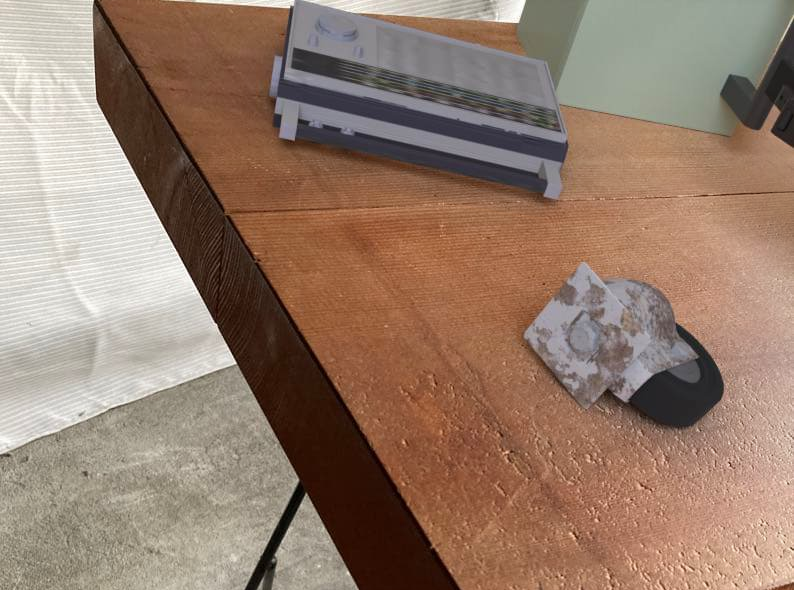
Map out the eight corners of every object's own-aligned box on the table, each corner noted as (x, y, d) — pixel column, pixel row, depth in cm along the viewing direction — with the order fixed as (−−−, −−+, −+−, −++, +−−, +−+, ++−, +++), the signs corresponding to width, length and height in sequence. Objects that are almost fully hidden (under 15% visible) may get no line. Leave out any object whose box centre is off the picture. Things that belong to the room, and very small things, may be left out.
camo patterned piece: (696, 433, 69) (625, 467, 62) (595, 316, 71) (517, 336, 65) (767, 369, 64) (699, 398, 57) (656, 246, 67) (578, 260, 60)
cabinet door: (757, 172, 96) (891, -74, 80) (569, 138, 90) (673, -132, 75) (728, 132, 101) (848, -106, 85) (549, 98, 96) (642, -162, 80)
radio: (550, 51, 90) (582, 155, 76) (531, 107, 94) (558, 216, 80) (286, -16, 85) (270, 83, 72) (276, 46, 89) (260, 150, 76)
